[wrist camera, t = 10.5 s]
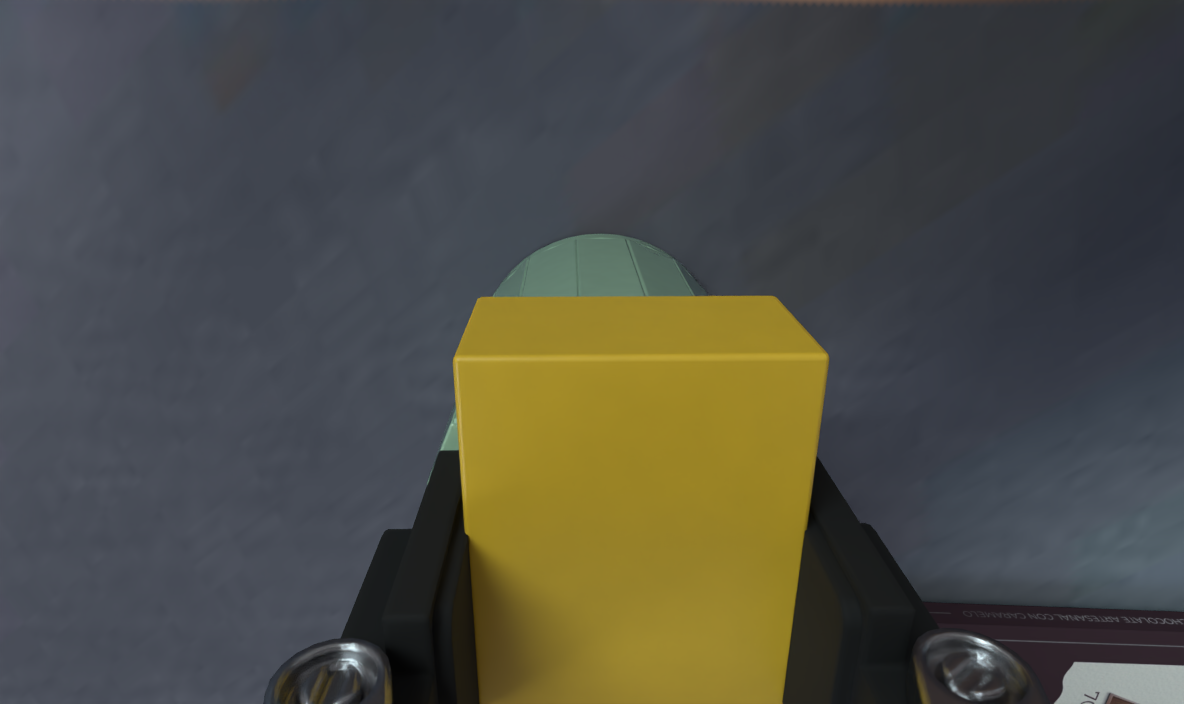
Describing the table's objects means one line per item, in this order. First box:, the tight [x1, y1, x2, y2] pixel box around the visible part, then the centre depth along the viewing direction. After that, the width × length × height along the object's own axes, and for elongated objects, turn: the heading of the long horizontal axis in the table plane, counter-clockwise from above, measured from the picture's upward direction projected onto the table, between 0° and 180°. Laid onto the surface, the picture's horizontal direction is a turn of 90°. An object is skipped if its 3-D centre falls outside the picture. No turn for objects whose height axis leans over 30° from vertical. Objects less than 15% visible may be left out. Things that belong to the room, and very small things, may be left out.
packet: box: [453, 296, 829, 704], centre depth 11 cm, size 8×4×2 cm, turn 0°
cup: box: [427, 234, 708, 485], centre depth 16 cm, size 6×6×8 cm
